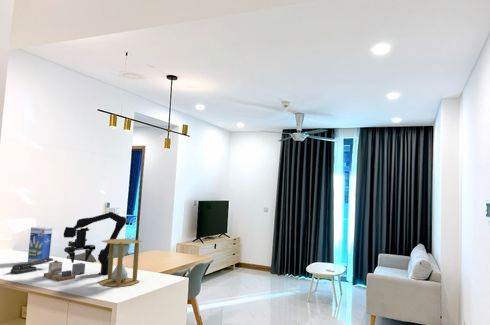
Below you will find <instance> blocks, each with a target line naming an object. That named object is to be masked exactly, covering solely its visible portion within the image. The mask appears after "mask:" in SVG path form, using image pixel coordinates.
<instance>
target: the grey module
mask: <svg viewBox="0 0 490 325" xmlns="http://www.w3.org/2000/svg"><path fill="white" fill-rule="evenodd" d="M71 271H72V274H73V275H75V276H77V275H78V274H83V275H85V271H86V263H83V262H79V263H72V268H71Z"/></svg>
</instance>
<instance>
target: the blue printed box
mask: <svg viewBox="0 0 490 325" xmlns="http://www.w3.org/2000/svg"><path fill="white" fill-rule="evenodd" d="M52 232H53V227H46V226H32V227H30V235H29V244H28V245H29V246H28V255H27V263H31V262H34V261H38V260H41V259H44V258H50V257H51V256H50V255H51V254H50V253H51V246H52V245H51V244H52V235H53V233H52ZM45 261H46V260H45ZM47 263H48V264H49V263H50V261H49V262H45V263H42V264H41V265H43V264H47Z"/></svg>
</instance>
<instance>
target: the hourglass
mask: <svg viewBox="0 0 490 325" xmlns="http://www.w3.org/2000/svg"><path fill="white" fill-rule="evenodd" d="M100 242H101V243H104V244H107V243H110V248H109V260H108V274H107V278H105V279H102V280H99V281H97V283H99V284H100V285H102V286H107V287H116V288H117V287H118V288H119V287H126V286H133V285H135V284H137V283H140V280H138V270H139V255H140V253H139V250H140V243H141V242H143V241H142V240H139V239H129V238H116V239H110V238H109V239H105V240H101V241H100ZM131 244H134V249H133V251H134V252H133V260H132V262H133V266H132V277H128V272H127V270H126V268H125V266H124V264H123V261H124V260H123V259H124V258H125V256H126V254H127V252H129V249H130V245H131ZM115 254H116V256H117V262H116V263H117V264H116V267H114V255H115ZM113 268H114V269H113Z"/></svg>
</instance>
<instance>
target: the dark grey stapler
mask: <svg viewBox="0 0 490 325" xmlns="http://www.w3.org/2000/svg"><path fill="white" fill-rule="evenodd" d="M45 260H46V261H45ZM45 262H49V263H50V262H54V259H53V258H52V257H49V258H44V259H41V260H38V261H34V262H31V263H29V262H26V263H18V264H17V263H16V264H14V265H13V266H12V267H11V269H10V274H11V273H12V275H22V274H27V273H32V272H37V265H38V266H39V265H43V264H42V263H44V264H46V263H45Z"/></svg>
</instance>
